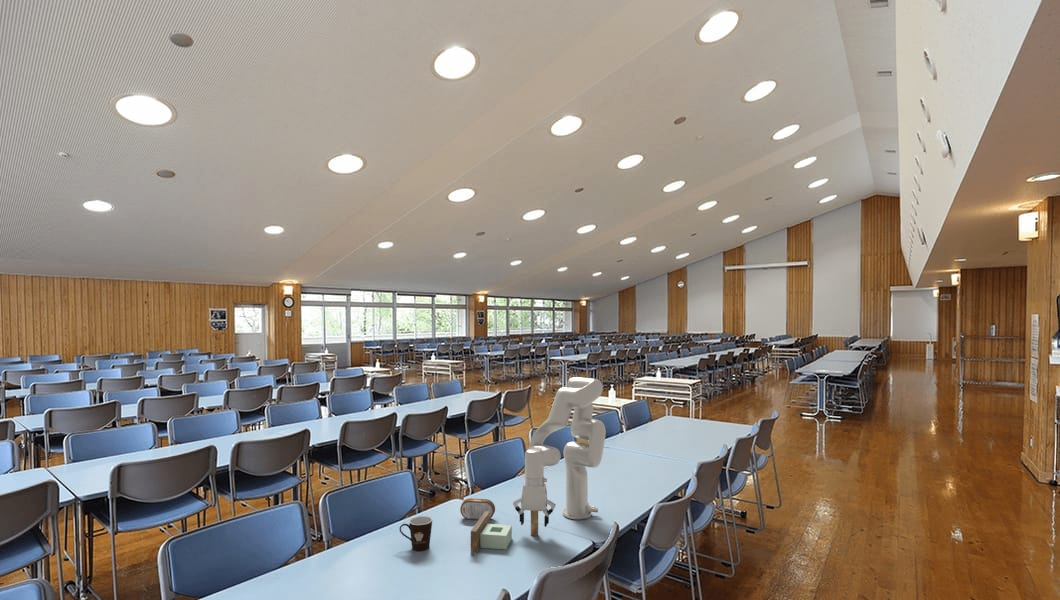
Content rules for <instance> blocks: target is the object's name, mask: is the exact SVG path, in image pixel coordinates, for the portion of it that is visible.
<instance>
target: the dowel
mask: <svg viewBox="0 0 1060 600" xmlns="http://www.w3.org/2000/svg"><path fill="white" fill-rule="evenodd" d="M530 536H532V537H538V536H539V511H530Z"/></svg>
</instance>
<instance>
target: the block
mask: <svg viewBox="0 0 1060 600" xmlns="http://www.w3.org/2000/svg"><path fill="white" fill-rule="evenodd" d="M512 532H513V525H511V524H499V523H498V524H495V523H490V524H487V525H486V526H485V528H484V529H483V531H482V532H481V534H480V548H481V549H495V550H496V549H497V550H507V549H508V547H509V545H510V543H511V541H512V539H513V538H512V537H513V536H512V535H513V533H512ZM480 548H479V549H480Z"/></svg>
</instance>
